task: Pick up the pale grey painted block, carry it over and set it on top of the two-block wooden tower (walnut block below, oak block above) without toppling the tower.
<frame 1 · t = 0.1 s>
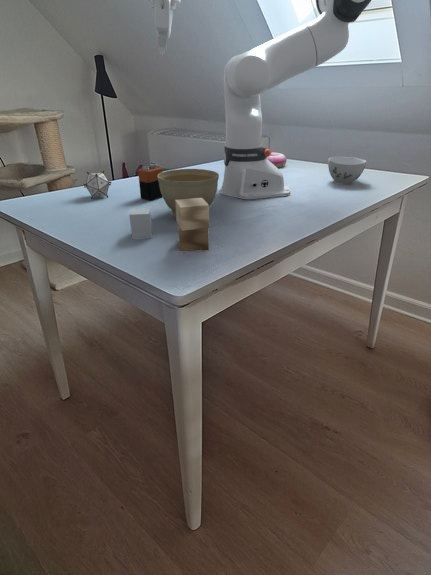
hand: (162, 54, 108), 39 cm above the table, tool pointing down, fingers open, 8 cm apart
walnut block: (193, 245, 89), on the table, touching oak block
battery: (153, 198, 124), on the table
grey block: (142, 235, 95), on the table
oak block: (192, 224, 86), point 5 cm above the table, touching walnut block
donut: (270, 166, 165), on the table
teacup: (345, 182, 138), on the table
planter bowl: (190, 214, 109), on the table
game die: (99, 197, 125), on the table
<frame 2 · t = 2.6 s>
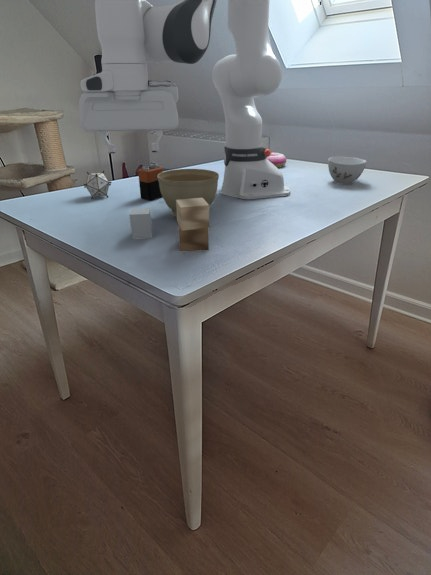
hand: (133, 152, 85), 19 cm above the table, tool pointing down, fingers open, 8 cm apart
nothing on the table moved.
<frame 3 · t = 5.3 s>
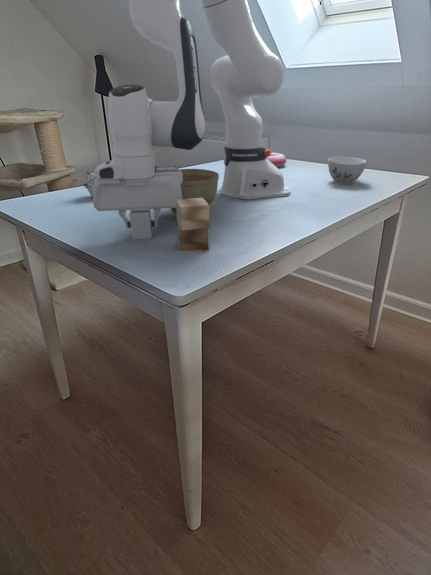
hand: (141, 226, 94), 2 cm above the table, tool pointing down, fingers closed on grey block, 4 cm apart
grey block: (142, 235, 95), on the table, touching gripper
everything else where it was.
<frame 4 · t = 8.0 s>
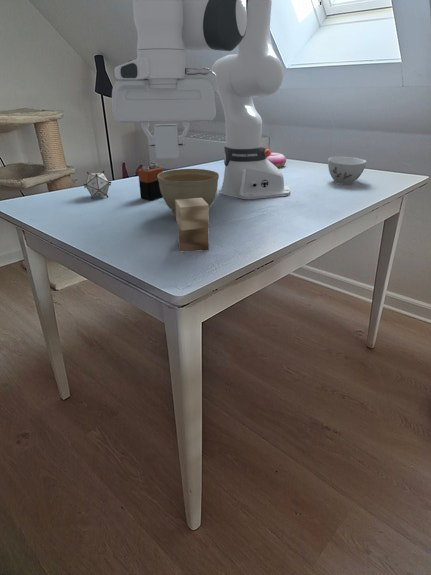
hand: (167, 145, 81), 21 cm above the table, tool pointing down, fingers closed on grey block, 4 cm apart
grey block: (167, 156, 82), point 19 cm above the table, touching gripper
everything else where it was.
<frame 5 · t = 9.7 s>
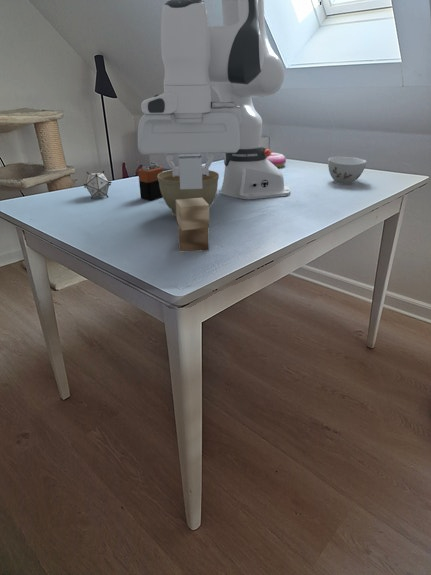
hand: (190, 176, 81), 15 cm above the table, tool pointing down, fingers closed on grey block, 4 cm apart
grey block: (190, 186, 82), point 13 cm above the table, touching gripper
everything else where it was.
when the fingers open (14 cm above the table, at t = 10.9 s): grey block drops 2 cm, resting on oak block.
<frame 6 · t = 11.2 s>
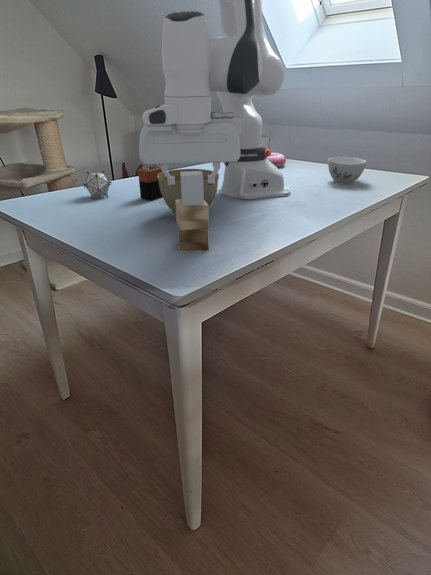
hand: (191, 184, 82), 14 cm above the table, tool pointing down, fingers open, 7 cm apart
grey block: (192, 202, 84), point 10 cm above the table, touching oak block
oak block: (192, 224, 86), point 5 cm above the table, touching grey block, walnut block
everything else where it was.
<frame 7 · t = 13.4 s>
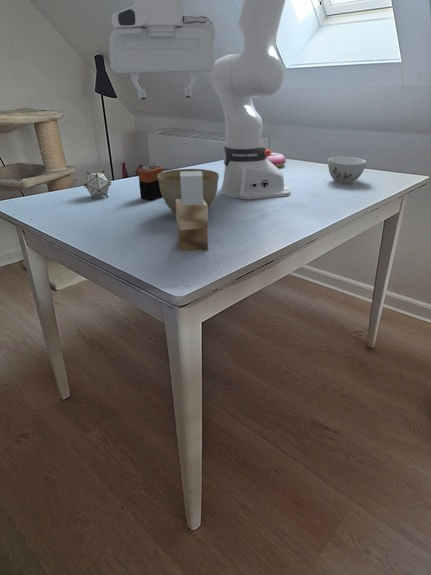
hand: (165, 98, 80), 30 cm above the table, tool pointing down, fingers open, 8 cm apart
nothing on the table moved.
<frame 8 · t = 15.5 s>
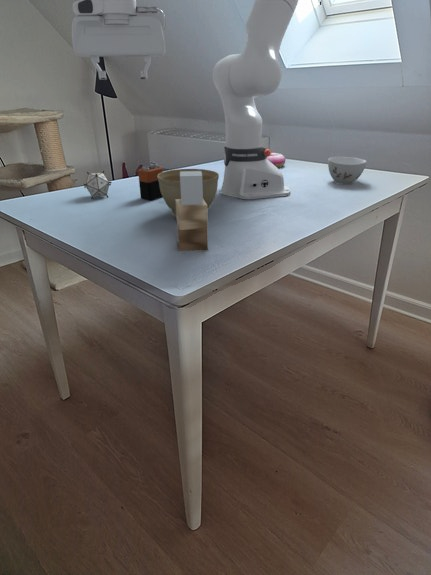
hand: (123, 79, 91), 33 cm above the table, tool pointing down, fingers open, 8 cm apart
nothing on the table moved.
at the end: grey block 0.2 cm from the oak block (horizontally); grey block point 9.9 cm above the table; oak block tilted 0° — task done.
